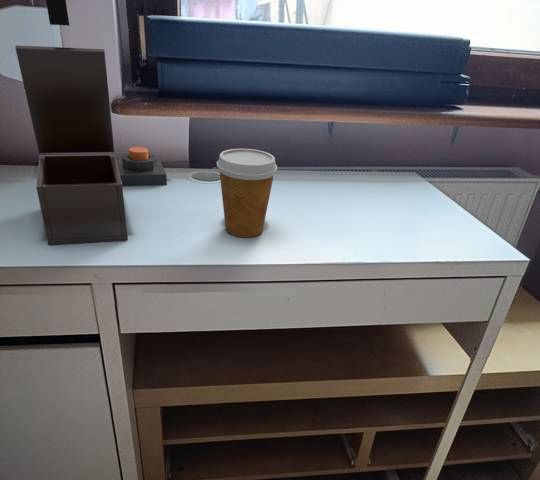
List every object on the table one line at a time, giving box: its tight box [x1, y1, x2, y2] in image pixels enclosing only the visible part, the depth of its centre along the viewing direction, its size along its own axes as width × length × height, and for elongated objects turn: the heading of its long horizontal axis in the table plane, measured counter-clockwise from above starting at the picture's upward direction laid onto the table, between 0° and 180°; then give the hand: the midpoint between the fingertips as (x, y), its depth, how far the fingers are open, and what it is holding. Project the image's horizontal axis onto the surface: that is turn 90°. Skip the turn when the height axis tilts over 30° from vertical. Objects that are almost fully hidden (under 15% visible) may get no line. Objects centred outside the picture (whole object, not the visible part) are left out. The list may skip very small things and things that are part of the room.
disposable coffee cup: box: [216, 148, 278, 238], centre depth 81 cm, size 10×10×12 cm
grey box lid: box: [14, 45, 115, 154], centre depth 76 cm, size 15×12×1 cm
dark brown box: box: [35, 153, 129, 246], centre depth 80 cm, size 15×12×9 cm
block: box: [116, 152, 168, 187], centre depth 100 cm, size 10×9×4 cm
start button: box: [128, 146, 149, 160], centre depth 99 cm, size 4×4×2 cm
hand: (59, 24), depth 75 cm, fingers closed
